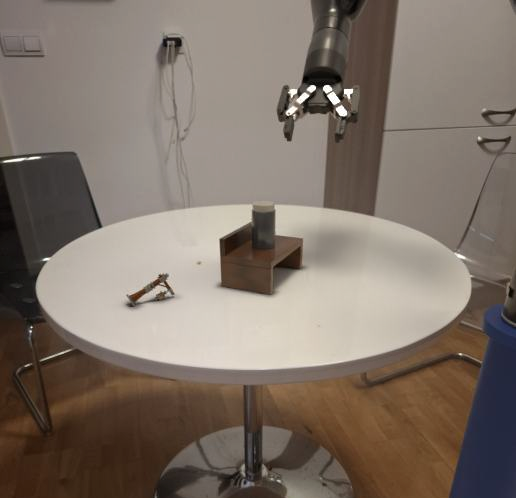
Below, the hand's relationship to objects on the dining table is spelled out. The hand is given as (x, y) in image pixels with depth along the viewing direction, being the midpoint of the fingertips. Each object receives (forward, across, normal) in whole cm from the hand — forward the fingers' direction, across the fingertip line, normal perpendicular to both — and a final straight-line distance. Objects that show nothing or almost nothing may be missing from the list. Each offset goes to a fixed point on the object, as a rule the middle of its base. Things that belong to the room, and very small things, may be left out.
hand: (312, 139), depth 85 cm
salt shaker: (+15, -8, +11) cm, 21 cm away
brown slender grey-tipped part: (+32, -24, +4) cm, 40 cm away
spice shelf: (+20, -8, +15) cm, 26 cm away
